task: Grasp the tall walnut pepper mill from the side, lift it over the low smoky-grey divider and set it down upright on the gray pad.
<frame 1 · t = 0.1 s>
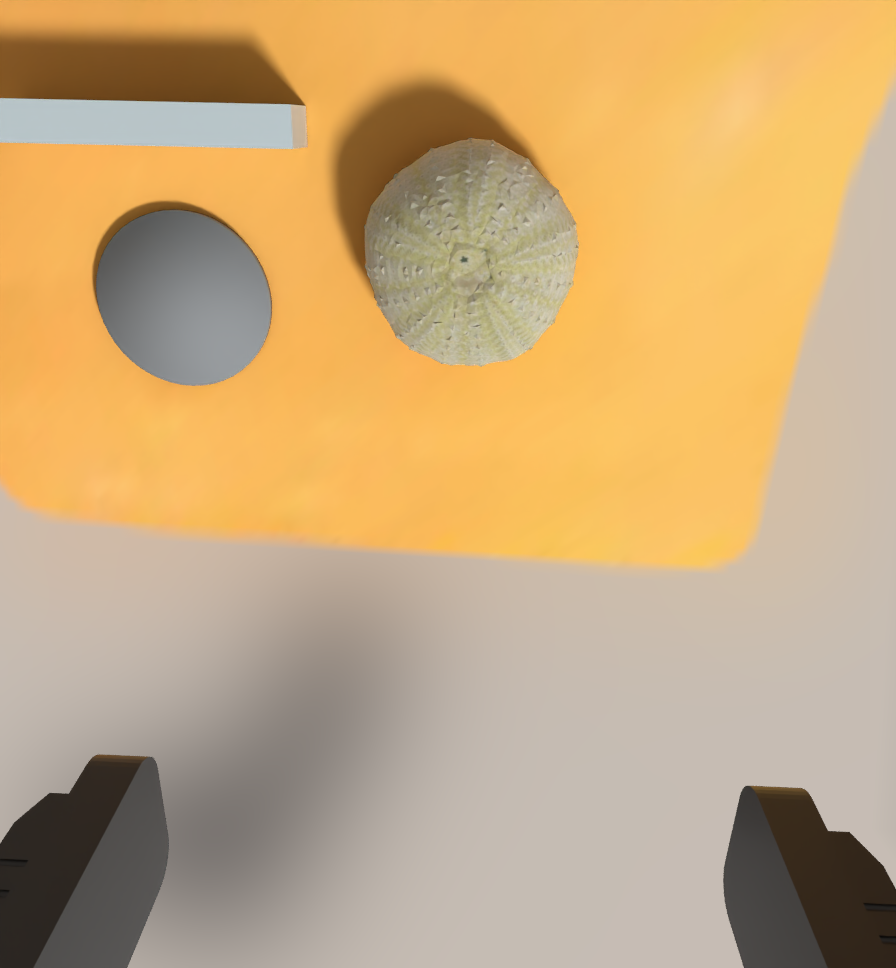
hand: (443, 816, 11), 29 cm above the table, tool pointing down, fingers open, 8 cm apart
divider: (166, 123, 35), on the table
sea urchin shell: (470, 250, 37), on the table
gray pad: (186, 300, 38), on the table
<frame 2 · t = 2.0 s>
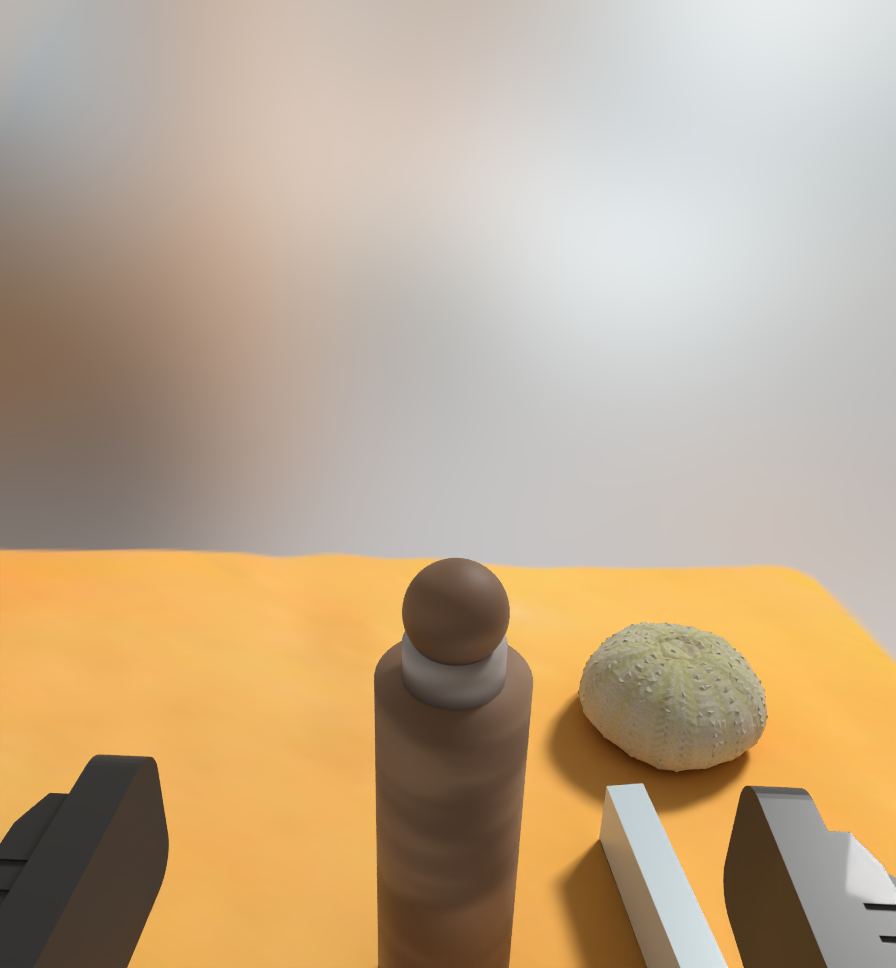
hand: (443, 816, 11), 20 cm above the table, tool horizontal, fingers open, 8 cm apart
divider: (667, 964, 31), on the table
sea urchin shell: (664, 725, 43), on the table
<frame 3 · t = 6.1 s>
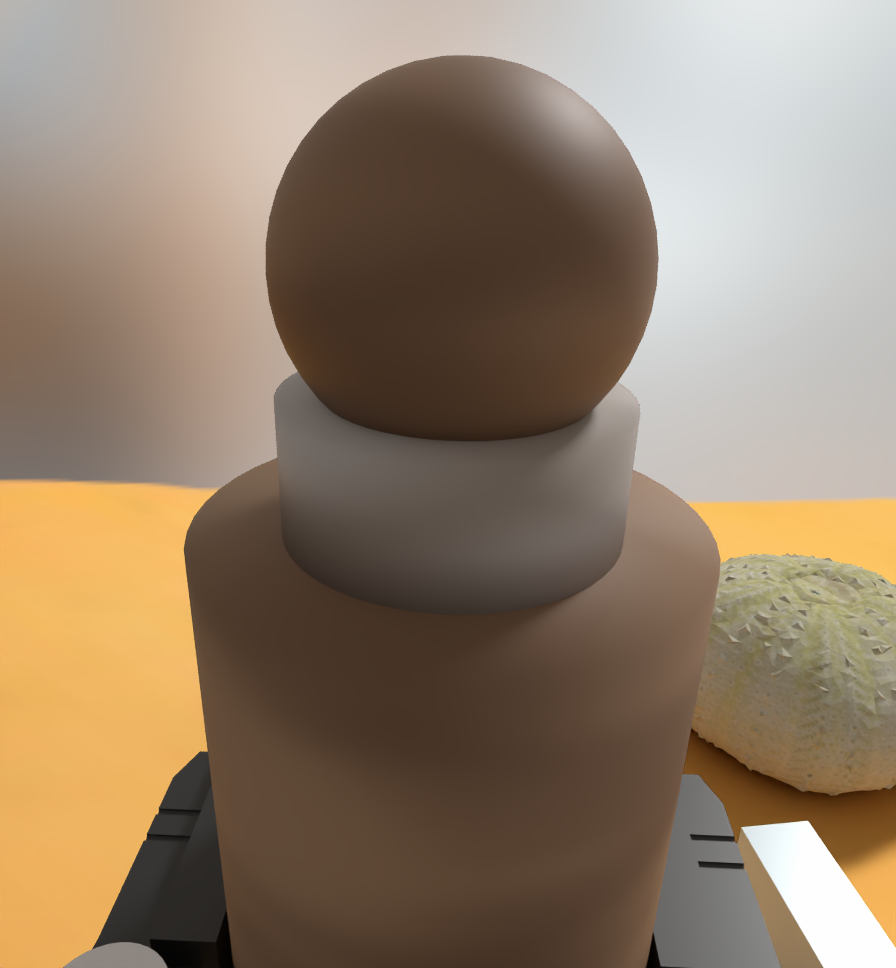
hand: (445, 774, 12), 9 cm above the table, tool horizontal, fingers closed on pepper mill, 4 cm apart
sea urchin shell: (788, 717, 27), on the table
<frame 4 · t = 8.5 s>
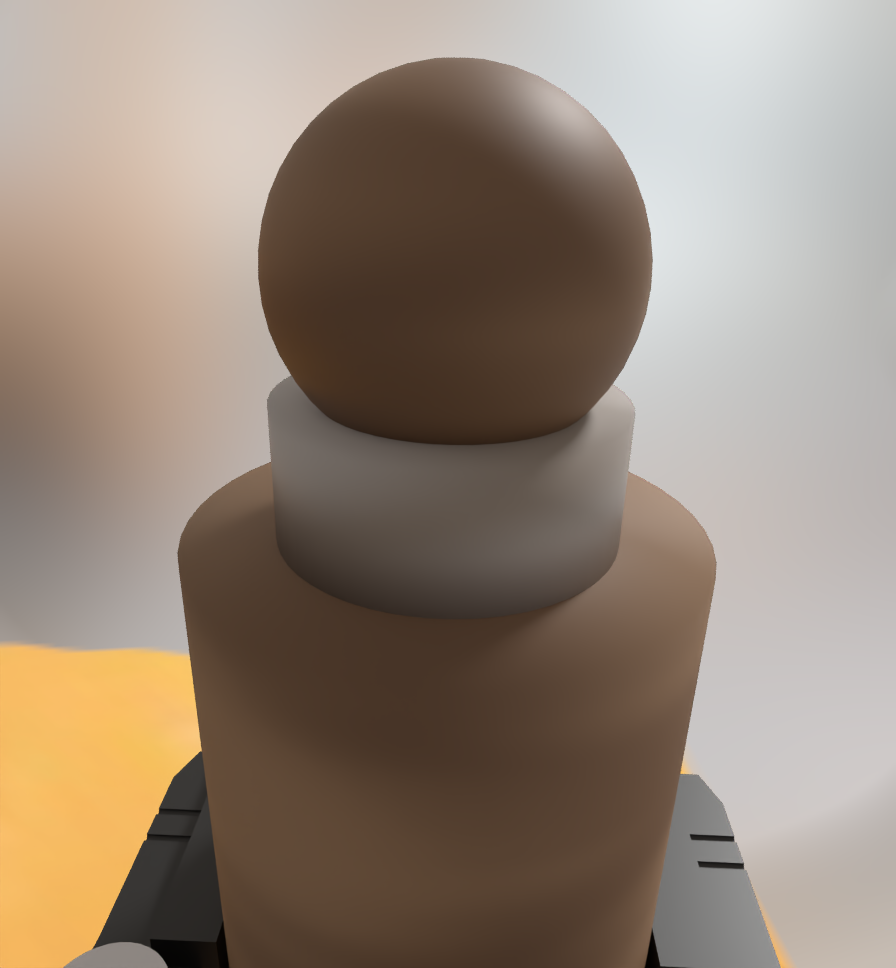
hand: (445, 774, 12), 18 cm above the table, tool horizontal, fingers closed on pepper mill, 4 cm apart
when the fingers open (10 cm above the table, at t = 10.6 s): pepper mill drops 1 cm, resting on gray pad.
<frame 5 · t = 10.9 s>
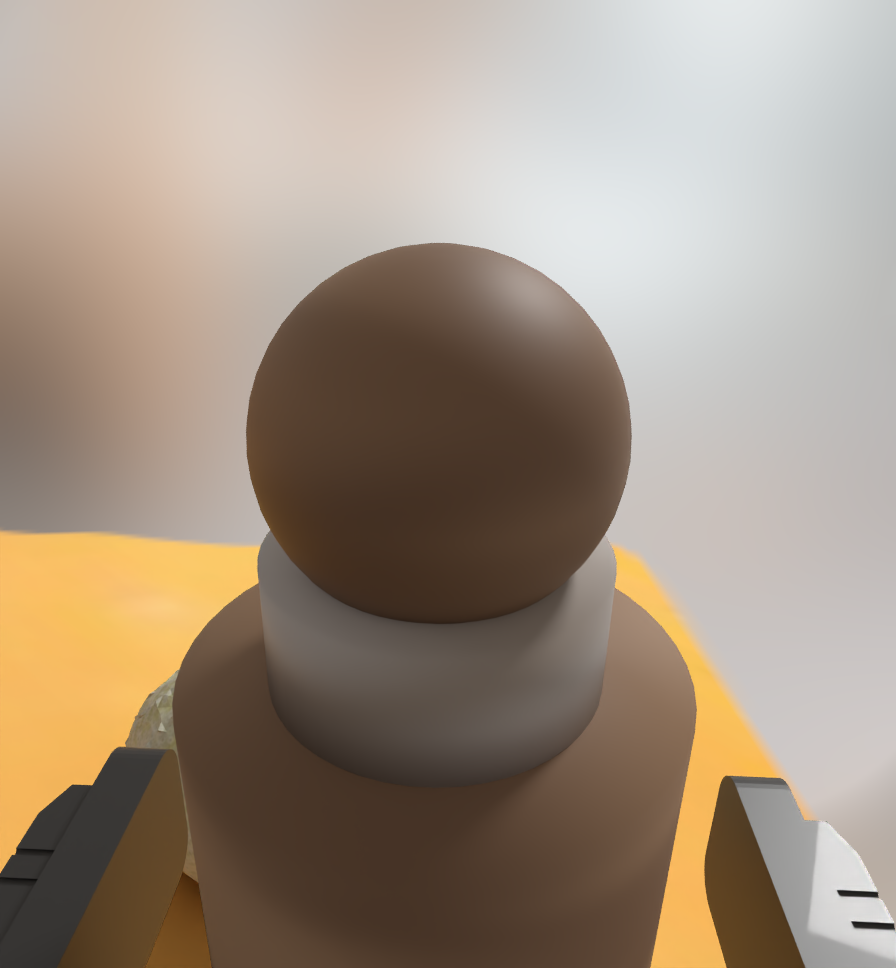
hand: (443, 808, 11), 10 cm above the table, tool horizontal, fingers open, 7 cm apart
sea urchin shell: (294, 799, 25), on the table
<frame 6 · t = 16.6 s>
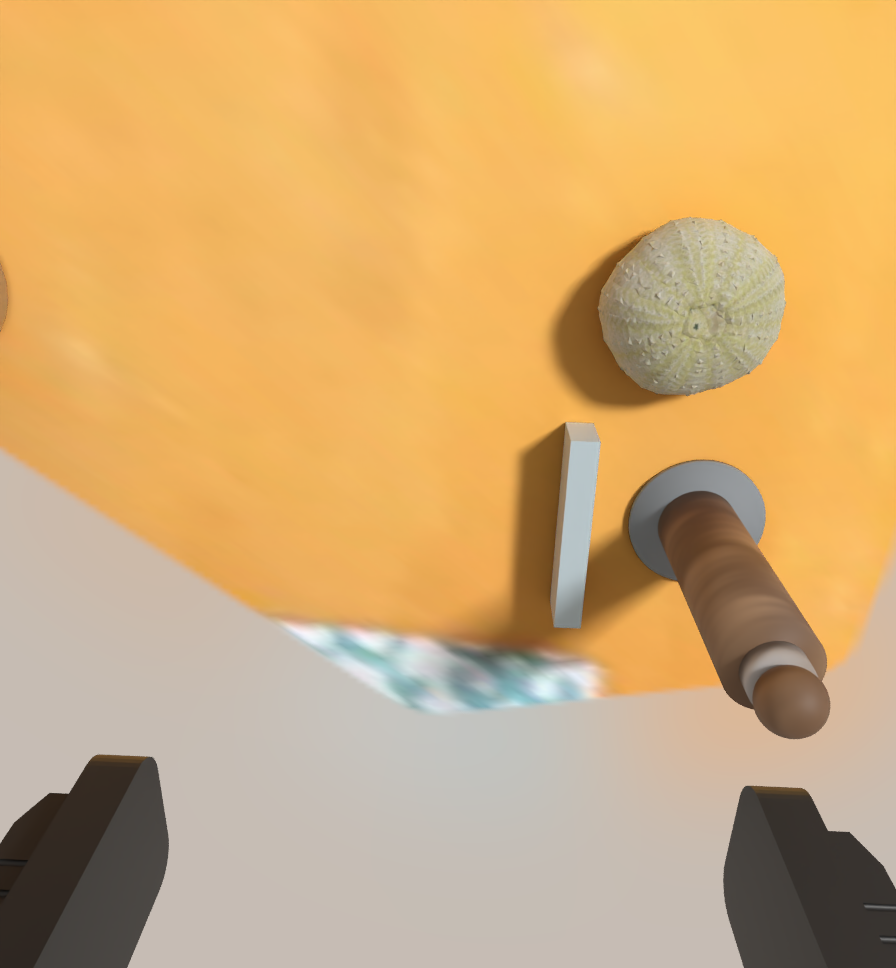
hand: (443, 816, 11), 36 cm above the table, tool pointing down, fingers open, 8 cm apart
divider: (570, 516, 49), on the table
sea urchin shell: (680, 301, 44), on the table
pepper mill: (696, 525, 49), resting on gray pad
gray pad: (695, 521, 49), on the table
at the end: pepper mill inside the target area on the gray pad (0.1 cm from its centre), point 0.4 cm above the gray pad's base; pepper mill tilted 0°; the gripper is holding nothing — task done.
